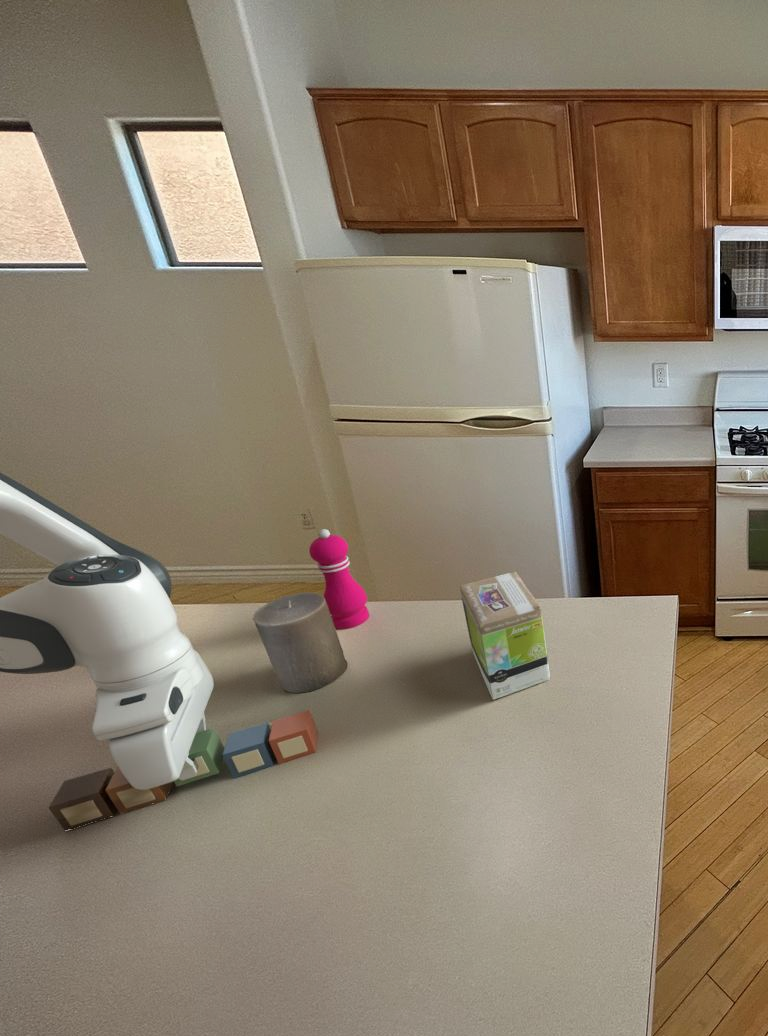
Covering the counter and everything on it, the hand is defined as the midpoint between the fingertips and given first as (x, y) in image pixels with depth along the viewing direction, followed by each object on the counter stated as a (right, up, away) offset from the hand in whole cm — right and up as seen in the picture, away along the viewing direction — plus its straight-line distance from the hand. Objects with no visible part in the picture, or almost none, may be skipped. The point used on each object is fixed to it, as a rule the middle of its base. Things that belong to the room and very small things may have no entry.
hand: (195, 758), depth 74 cm
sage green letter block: (0, -2, +1) cm, 2 cm away
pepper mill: (-3, +12, +36) cm, 38 cm away
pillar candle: (+1, +6, +21) cm, 22 cm away
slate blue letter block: (+5, -2, +4) cm, 7 cm away
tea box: (+34, +6, +23) cm, 42 cm away
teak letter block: (-5, -4, -1) cm, 7 cm away
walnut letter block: (-9, -5, -3) cm, 11 cm away
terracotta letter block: (+9, -1, +6) cm, 11 cm away
